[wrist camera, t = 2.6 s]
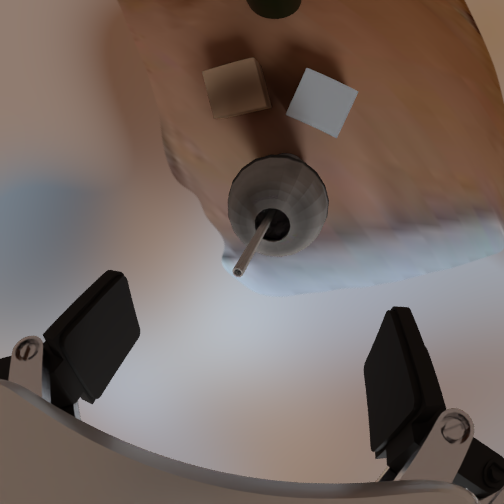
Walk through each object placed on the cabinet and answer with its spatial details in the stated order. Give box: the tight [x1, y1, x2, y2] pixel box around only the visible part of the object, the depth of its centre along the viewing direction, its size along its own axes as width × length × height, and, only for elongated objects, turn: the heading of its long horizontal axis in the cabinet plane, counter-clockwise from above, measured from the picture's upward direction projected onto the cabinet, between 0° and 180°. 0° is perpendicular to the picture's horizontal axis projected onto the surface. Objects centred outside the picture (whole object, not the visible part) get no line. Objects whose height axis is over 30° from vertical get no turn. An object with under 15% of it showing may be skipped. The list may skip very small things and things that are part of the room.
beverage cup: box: [228, 153, 329, 277], centre depth 21 cm, size 7×7×20 cm
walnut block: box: [202, 57, 272, 119], centre depth 24 cm, size 5×5×5 cm
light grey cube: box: [286, 68, 358, 138], centre depth 23 cm, size 5×5×5 cm
